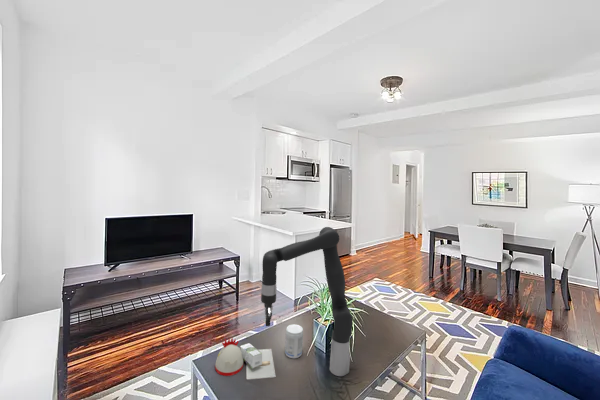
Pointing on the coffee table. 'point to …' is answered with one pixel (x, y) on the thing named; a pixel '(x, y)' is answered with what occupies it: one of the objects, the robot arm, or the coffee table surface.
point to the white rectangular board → (262, 367)
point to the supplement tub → (294, 341)
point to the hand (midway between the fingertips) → (267, 325)
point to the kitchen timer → (229, 359)
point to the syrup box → (251, 355)
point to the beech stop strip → (265, 363)
